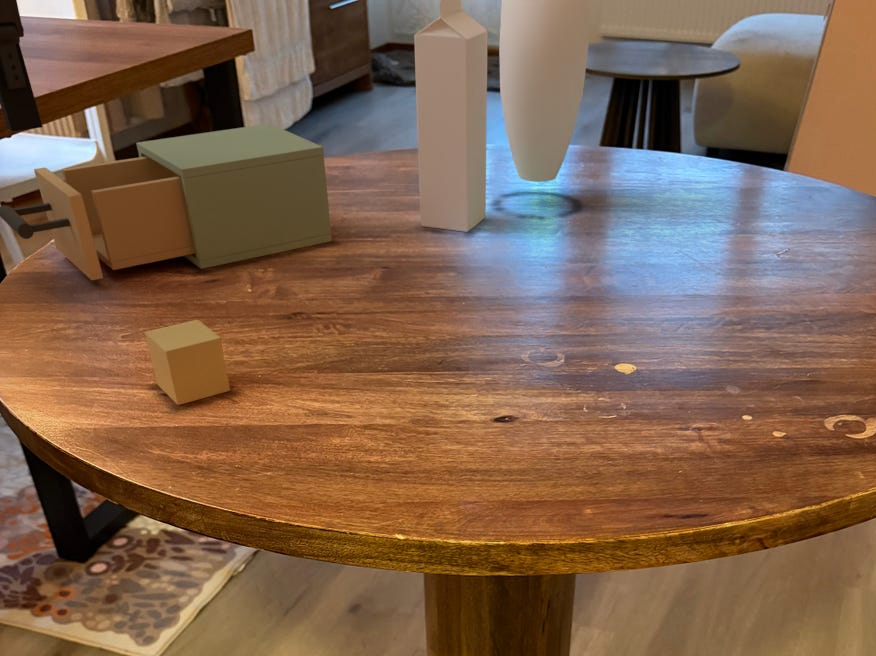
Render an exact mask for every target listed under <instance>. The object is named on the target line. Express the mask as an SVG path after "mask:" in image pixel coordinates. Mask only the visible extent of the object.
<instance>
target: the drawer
mask: <svg viewBox="0 0 876 656" xmlns="http://www.w3.org/2000/svg"><path fill="white" fill-rule="evenodd" d="M33 170H34V171H33V172H34V175H35V179H36V182H37V185H38V189H39V193H40V196H41V199H42V203H40V204H35V205H33V204H32V205H28V206H27V205H26V206H22V207H16V208H12V207H11V206H10V205H6V204H4V205H0V218H1V219H2V221H4V222H5V223H6V224H7V225H8V226H9V227H10V228H11V229H12V230H13V231H14V232H15V233H16V234H18V236H20V238H22V239H24V240H28V239H31V238H32V237H33V236H34V234H35V233H38V232H43V231H50V230H51V235H52V237H53V241H54V244H55V248H56V249H57V251H59V253H61V254H62V255H63V256H64V257H65V258H67V260H69V261H70V263H72V264H73V265H74V266H75V267H76V268H77V269H79V270H80V272H82V273H83V274H84V275H85V276H86V277H87V278H88V279H89V280H90V281H95V280H96V281H97V280H100V279H104V275H103V272H102V268H101V263H100V260H101V261H102V262H103V263H104V264H106V266H108V267H109V268H110V269H111V270H113V271H116V270H121V269H126V268H131V267H135V266H139V265H145V264H151V263H155V262H161V261H164V260H169V259H174V258H180V257H184V256H185V255H190V254H195V247H194V242H193V237H192V232H191V227H190V221H189V216H188V211H187V206H186V201H185V195H184V190H183V185H182V180H181V176H180V175H178V174H176V173H175V172H173V171H171V170H169V169H168V168H166V167H164V166H163V165H161V164H159V163H158V162H156V161H154V160H153V159H151V158H149V157H148V156H145V157H139V156H138V157H133V158H126V159H118V160H111V161H105V162H100V163H93V164H85V165H79V166H74V167H66V168H61V172H62V176H63V179H61V178H60V177H59V176H57V175H56V174H55V173H54V172H52V171H51V170H50V169H49V168H47V167H41V168H40V167H38V168H34V169H33ZM44 212H45V214H46V217H47V220H48V221H43V222H38V223H32V224H30V223H28V222H27V221H26V220H25V219H24V218H23V217H22V216H28V215H32V214H38V213H44Z"/></svg>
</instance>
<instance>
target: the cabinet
mask: <svg viewBox="0 0 876 656" xmlns="http://www.w3.org/2000/svg"><path fill="white" fill-rule="evenodd" d="M135 144H136V149H137V152H138V158H139V157H145V156H148V157H149V158H151V159H153V160H154V161H156V162H158V163H159V164H161V165H163V166H164V167H166V168H168V169H169V170H171V171H173V172H175V173H176V174H178V175H180V176H181V180H182V185H183V190H184V195H185V201H186V206H187V211H188V216H189V221H190V227H191V232H192V237H193V242H194V247H195V254H190V255H185V256H183V257H184V258H185V259H187V261H189V262H191V263H192V264H193V265H195V266H196V267H198V268H199V269H200V270H204V269H208V268H214V267H218V266H222V265H227V264H231V263H236V262H241V261H246V260H251V259H254V258H259V257H265V256H269V255H274V254H278V253H283V252H288V251H292V250H298V249H301V248H302V249H303V248H307V247H311V246H317V245H320V244H326V243H330V242H332V241H333V238H332V237H333V236H332V227H331V217H330V205H329V198H328V197H329V195H328V186H327V185H328V184H327V176H326V175H327V174H326V165H325V154H324V153H325V152H324V146H322V145H320V144H317V143H315V142H312V141H311V140H308V139H306V138H304V137H301V136H299V135H297V134H294V133H292V132H290V131H288V130H285V129H283V128H280V127H278V126H277V125H274V124H271V123H264V124H257V125H249V126H244V127H237V128H229V129H222V130H215V131H208V132H202V133H194V134H188V135H187V134H186V135H180V136H174V137H167V138H159V139H154V140H153V139H152V140H144V141H139V142H136V143H135Z"/></svg>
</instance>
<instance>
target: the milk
mask: <svg viewBox="0 0 876 656" xmlns="http://www.w3.org/2000/svg"><path fill="white" fill-rule="evenodd" d="M438 6H439V7H438V8H439V10H438V11H439V17H438V18H436V19H435V20H434V21H432V22H431V23H429V24H428V25H426V26H425V27H424V28H422V29H421V30H419V31H418V32H416V33H415V34H414V37H413V39H414V44H413V45H414V63H415V64H414V66H415V67H414V70H415V71H414V72H415V96H416V97H415V101H416V126H417V127H416V130H417V131H416V132H417V157H418V159H417V160H418V162H417V163H418V186H419V189H418V190H419V191H418V192H419V215H420V216H419V217H420V226H421V227H425V228H433V229H439V230H449V231H456V232H461V233H462V232H463V233H468V232H469V231H470V230H472V229H473V228H474V227H476V226H477V225H478V224H479V223H480V222H482V221H483V220H484V219H486V217H487V216H486V213H487V210H486V208H487V207H486V206H487V204H486V203H487V202H486V201H487V199H486V198H487V122H488V121H487V120H488V119H487V118H488V117H487V116H488V115H487V113H488V111H487V110H488V108H487V107H488V95H487V94H488V30H487V29H486V28H485V27H484V26H482V25H481V24H480V23H479V22H478V21H477V20H475V19H474V18H473V17H471V16H470V15H469V13H467V12H466V11H464V10H463V0H439V5H438Z"/></svg>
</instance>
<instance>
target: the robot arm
mask: <svg viewBox="0 0 876 656" xmlns="http://www.w3.org/2000/svg"><path fill="white" fill-rule="evenodd" d="M24 32H25V30H24V26H23V24H22V20H21V15H20V10H19V6H18V1H17V0H0V109H1V112H2V115H3V118H4V122H5V125H6V129H8V130H9V131H10V132H18V131H24V130H25V131H26V130H27V131H28V130H33V129H41V128H43V123H42V120H41V116H40V113H39V109H38V106H37V102H36V98H35V95H34V91H33V88H32V85H31V80H30V77H29V73H28V70H27V66H26V62H25V59H24V56H23V51H22V49H21V45H20V43H21V40H20V38H23V37H25V33H24Z"/></svg>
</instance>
